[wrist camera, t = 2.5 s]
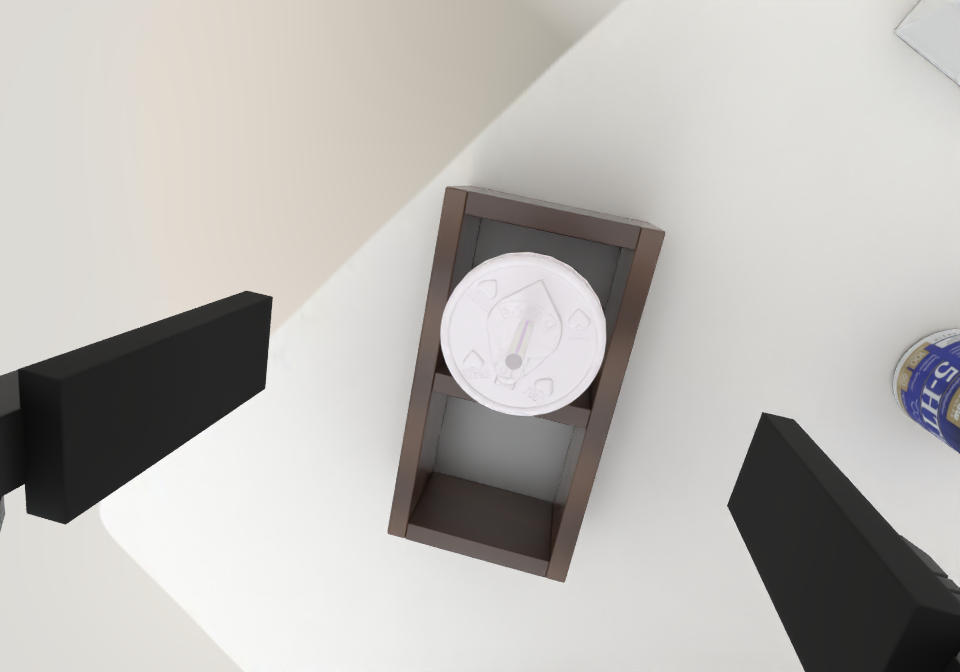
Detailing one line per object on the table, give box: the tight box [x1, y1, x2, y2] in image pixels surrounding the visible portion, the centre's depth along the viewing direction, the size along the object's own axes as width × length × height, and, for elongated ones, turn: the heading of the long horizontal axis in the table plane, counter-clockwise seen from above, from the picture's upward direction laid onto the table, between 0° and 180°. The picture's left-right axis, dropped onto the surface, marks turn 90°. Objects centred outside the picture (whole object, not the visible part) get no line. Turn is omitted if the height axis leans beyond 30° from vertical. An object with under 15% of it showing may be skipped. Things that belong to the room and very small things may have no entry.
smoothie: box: [440, 252, 606, 416], centre depth 24 cm, size 6×6×14 cm
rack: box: [388, 186, 665, 583], centre depth 29 cm, size 18×10×6 cm, turn 169°
